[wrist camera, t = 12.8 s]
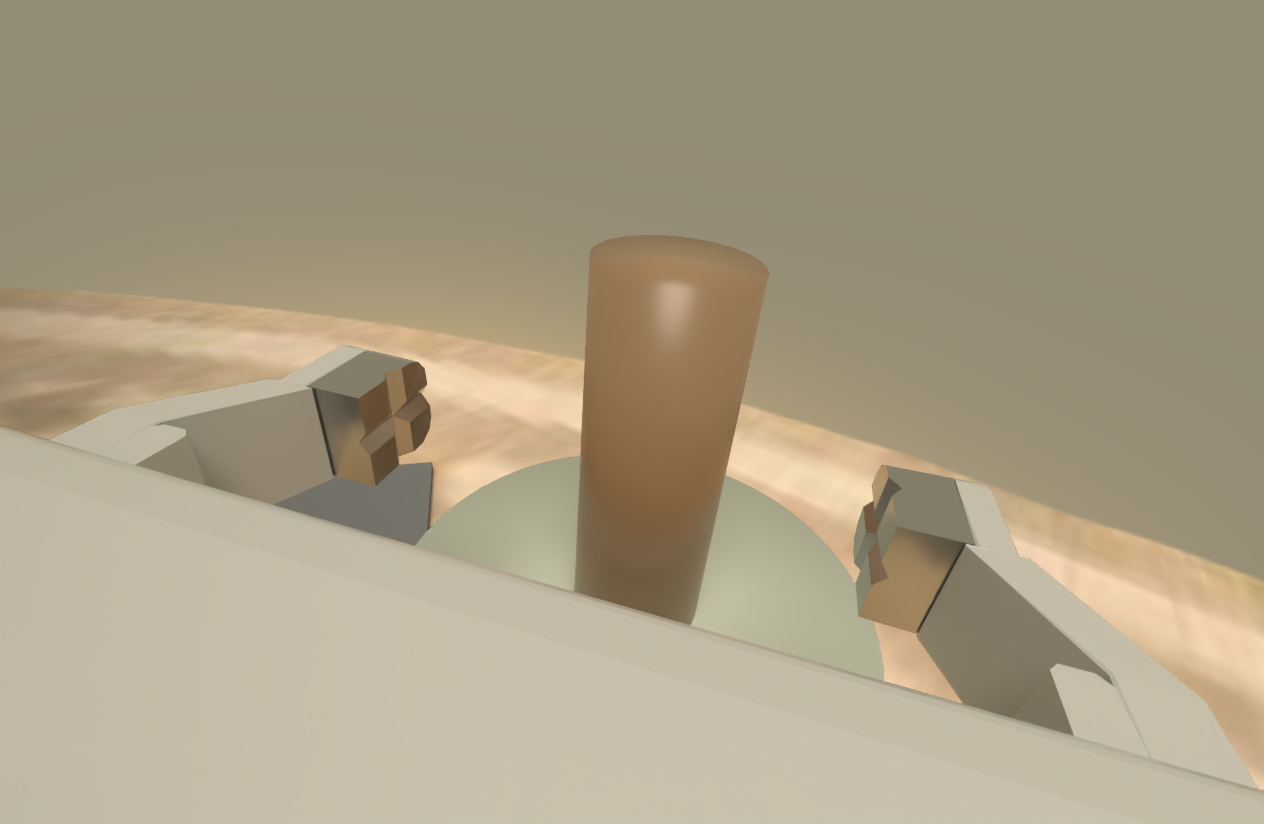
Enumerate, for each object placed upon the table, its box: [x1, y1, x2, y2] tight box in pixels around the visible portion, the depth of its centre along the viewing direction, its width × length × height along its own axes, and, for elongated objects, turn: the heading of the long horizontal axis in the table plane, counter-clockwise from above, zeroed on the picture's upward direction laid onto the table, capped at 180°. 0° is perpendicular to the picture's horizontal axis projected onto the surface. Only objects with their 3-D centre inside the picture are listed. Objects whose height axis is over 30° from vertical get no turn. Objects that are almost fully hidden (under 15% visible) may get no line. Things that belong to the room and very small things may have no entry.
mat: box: [273, 462, 433, 546], centre depth 23 cm, size 16×16×1 cm
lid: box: [415, 235, 884, 681], centre depth 14 cm, size 14×14×11 cm
